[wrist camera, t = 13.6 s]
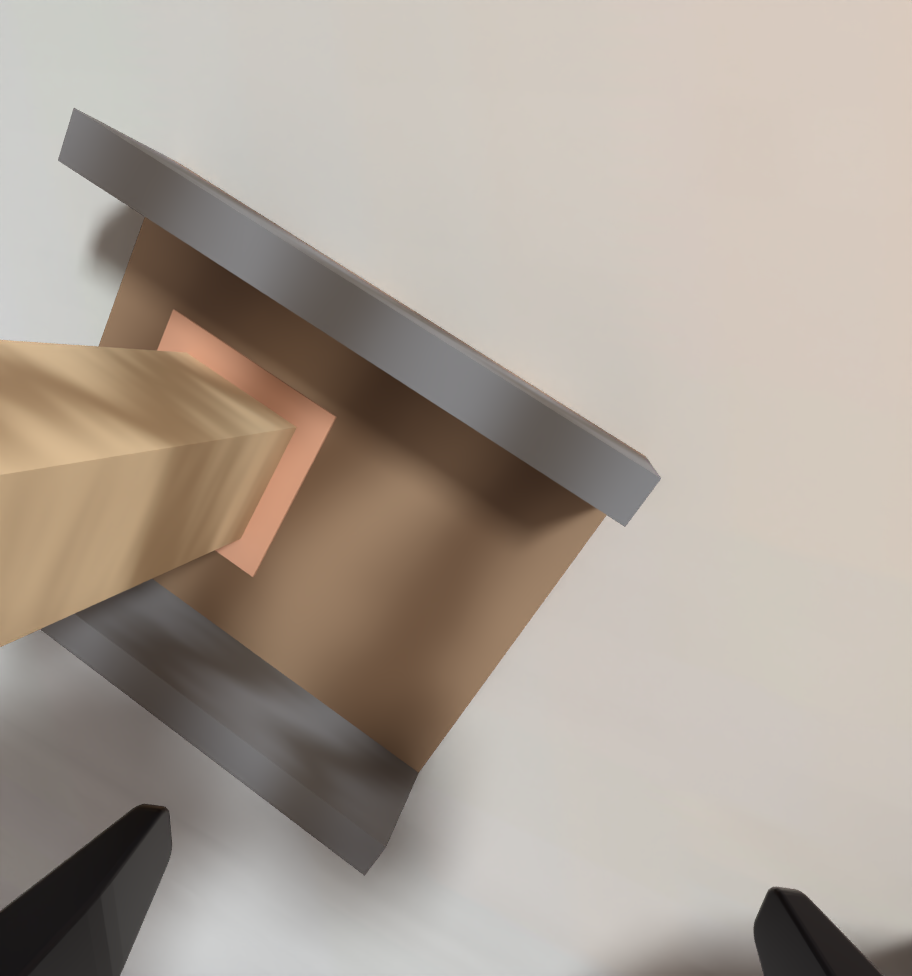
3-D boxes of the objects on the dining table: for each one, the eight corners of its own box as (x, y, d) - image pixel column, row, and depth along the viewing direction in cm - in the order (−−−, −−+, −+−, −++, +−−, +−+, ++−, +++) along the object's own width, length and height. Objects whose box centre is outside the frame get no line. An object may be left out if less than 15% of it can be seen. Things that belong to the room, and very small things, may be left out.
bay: (645, 456, 17) (661, 478, 13) (403, 789, 22) (364, 875, 18) (176, 161, 19) (73, 107, 15) (44, 525, 24) (-61, 553, 20)
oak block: (296, 427, 19) (-132, 495, 8) (240, 538, 21) (-191, 733, 9) (186, 352, 20) (-370, 315, 8) (139, 466, 21) (-389, 566, 10)
